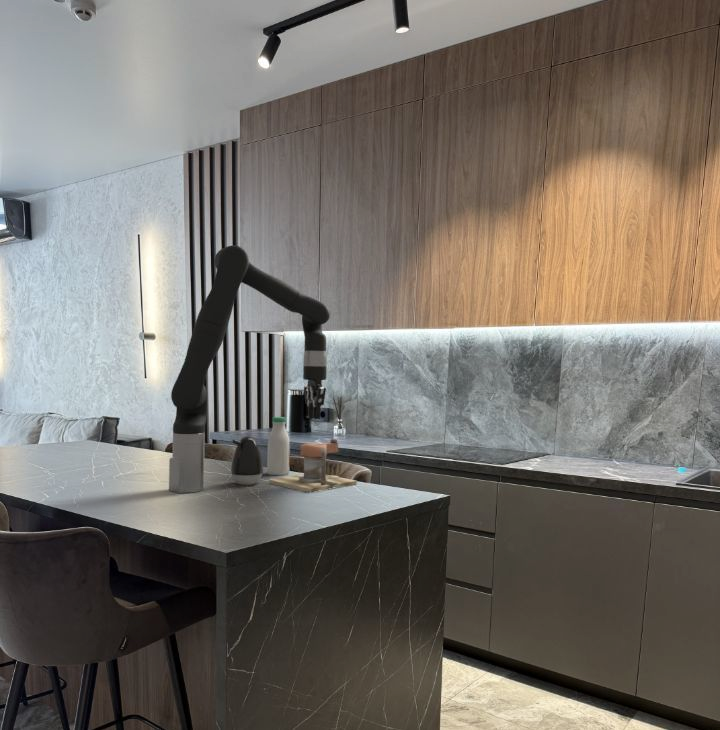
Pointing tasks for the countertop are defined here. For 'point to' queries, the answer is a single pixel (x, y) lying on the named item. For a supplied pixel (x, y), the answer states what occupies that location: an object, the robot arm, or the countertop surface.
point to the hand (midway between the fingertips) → (314, 418)
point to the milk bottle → (278, 448)
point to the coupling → (318, 449)
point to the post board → (309, 486)
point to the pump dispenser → (246, 462)
